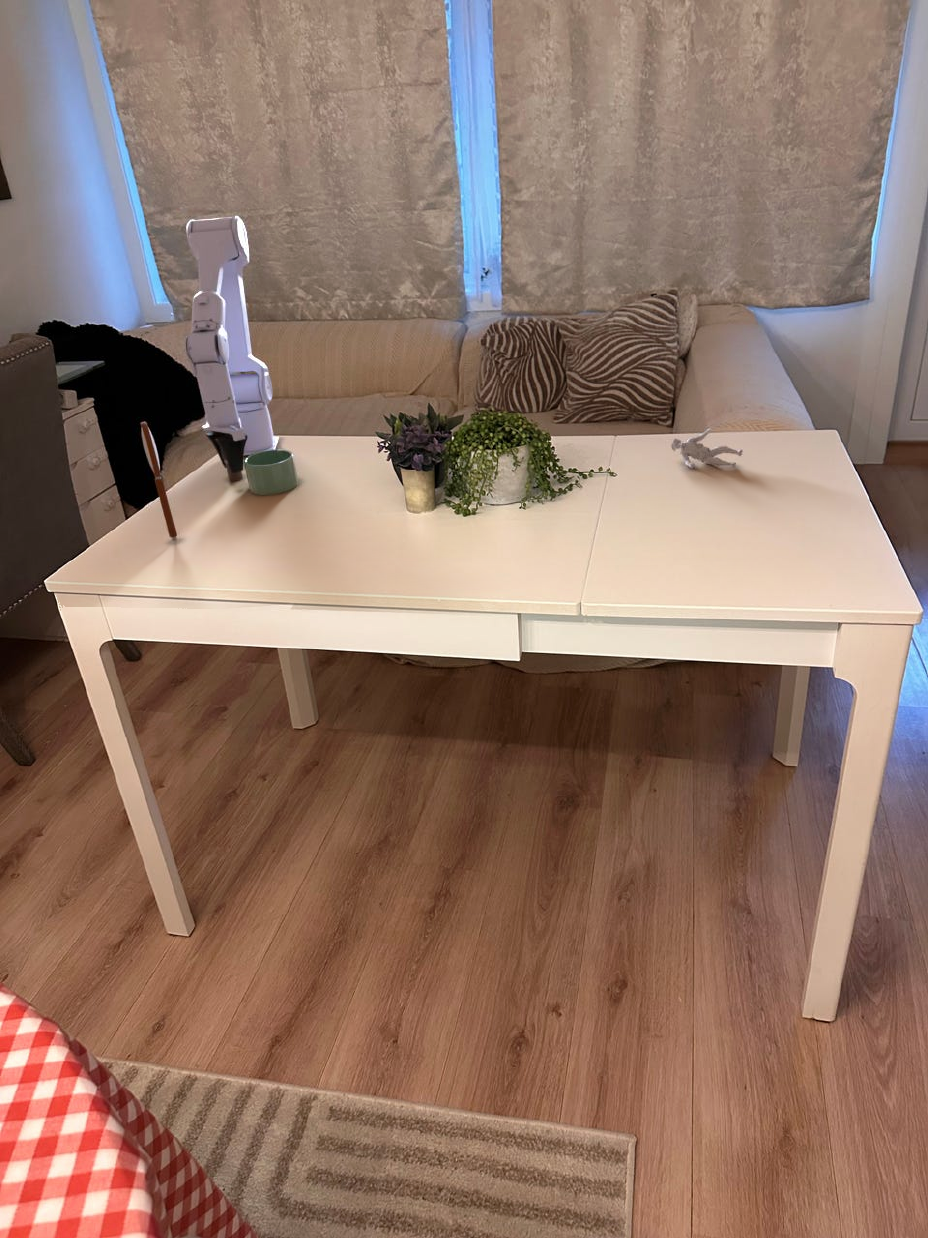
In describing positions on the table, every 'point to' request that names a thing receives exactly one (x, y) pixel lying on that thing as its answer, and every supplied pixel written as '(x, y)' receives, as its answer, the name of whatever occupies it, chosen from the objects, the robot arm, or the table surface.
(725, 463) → the soldier figure
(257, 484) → the cup
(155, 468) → the magnifying glass
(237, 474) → the brush
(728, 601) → the table surface
